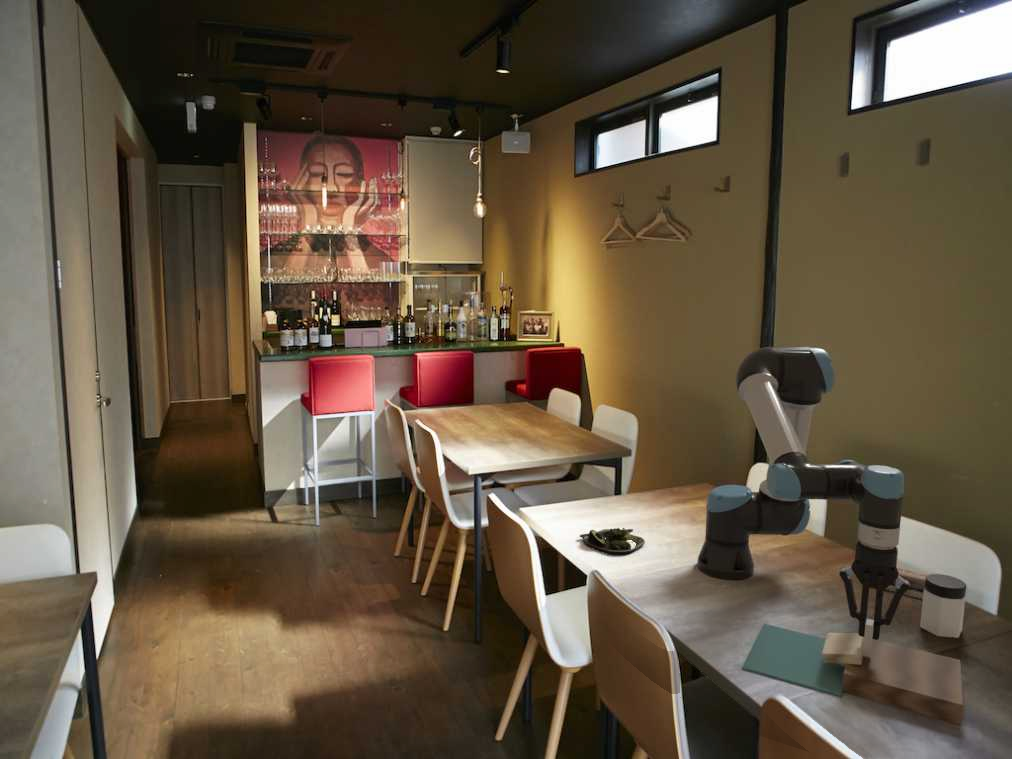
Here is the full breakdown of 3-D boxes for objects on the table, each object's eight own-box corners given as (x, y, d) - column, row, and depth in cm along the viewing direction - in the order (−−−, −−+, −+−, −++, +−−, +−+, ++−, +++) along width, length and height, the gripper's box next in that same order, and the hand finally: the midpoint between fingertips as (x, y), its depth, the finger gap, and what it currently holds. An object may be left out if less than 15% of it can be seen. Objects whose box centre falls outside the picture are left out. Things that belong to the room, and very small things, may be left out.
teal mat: (742, 668, 150) (742, 667, 150) (763, 625, 168) (763, 623, 168) (840, 696, 140) (841, 694, 140) (852, 647, 159) (852, 645, 158)
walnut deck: (842, 691, 142) (843, 673, 141) (851, 651, 157) (852, 634, 156) (960, 724, 131) (962, 705, 131) (958, 678, 147) (960, 660, 146)
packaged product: (863, 568, 190) (871, 557, 198) (861, 585, 191) (869, 573, 199) (940, 587, 179) (946, 574, 187) (939, 605, 180) (944, 591, 188)
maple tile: (823, 662, 147) (822, 653, 146) (829, 641, 155) (827, 632, 155) (861, 664, 143) (859, 654, 143) (864, 642, 151) (863, 633, 151)
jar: (924, 616, 173) (929, 570, 171) (963, 627, 168) (969, 579, 166) (917, 630, 166) (921, 582, 164) (957, 642, 161) (963, 592, 159)
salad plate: (611, 528, 232) (612, 514, 232) (657, 543, 220) (658, 529, 219) (572, 543, 219) (573, 529, 219) (619, 560, 206) (619, 545, 206)
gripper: (839, 542, 143) (830, 651, 147) (913, 556, 137) (902, 669, 140) (843, 531, 150) (834, 635, 153) (914, 543, 143) (903, 652, 147)
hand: (867, 651), depth 147 cm, fingers closed
